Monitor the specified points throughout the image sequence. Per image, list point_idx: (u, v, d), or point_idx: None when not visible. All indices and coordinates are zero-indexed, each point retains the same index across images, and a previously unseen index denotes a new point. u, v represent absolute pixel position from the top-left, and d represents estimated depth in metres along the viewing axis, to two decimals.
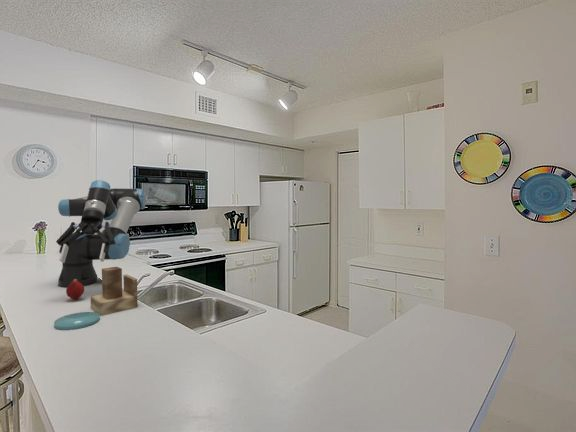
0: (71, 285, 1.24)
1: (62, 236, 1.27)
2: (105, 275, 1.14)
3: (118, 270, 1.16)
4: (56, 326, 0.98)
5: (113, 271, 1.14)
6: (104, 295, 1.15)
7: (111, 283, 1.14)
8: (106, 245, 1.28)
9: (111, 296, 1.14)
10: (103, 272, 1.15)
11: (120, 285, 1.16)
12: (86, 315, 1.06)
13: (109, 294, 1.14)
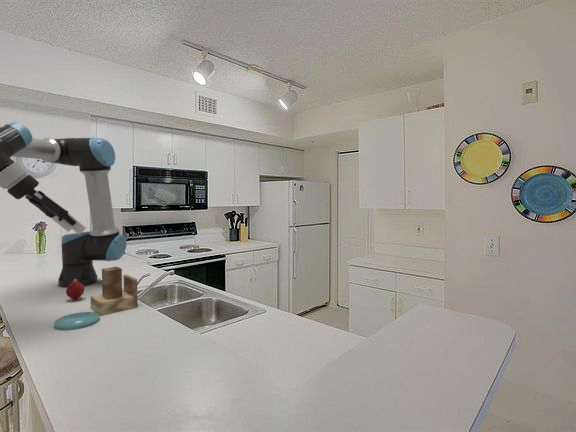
0: (71, 285, 1.24)
1: (42, 211, 1.08)
2: (105, 275, 1.14)
3: (118, 270, 1.16)
4: (56, 326, 0.98)
5: (113, 271, 1.14)
6: (104, 295, 1.15)
7: (111, 283, 1.14)
8: (65, 220, 1.00)
9: (111, 296, 1.14)
10: (103, 272, 1.15)
11: (120, 285, 1.16)
12: (86, 315, 1.06)
13: (109, 294, 1.14)
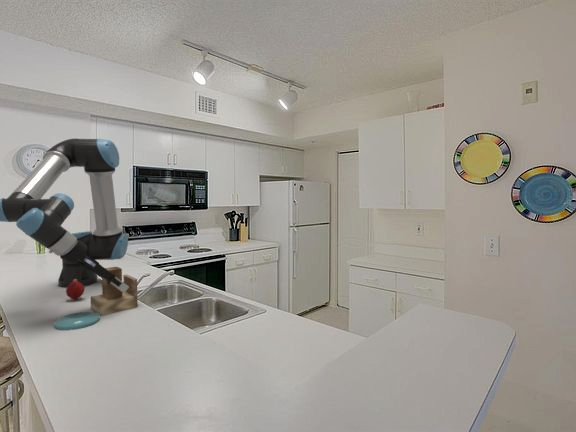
0: (71, 285, 1.24)
1: (93, 272, 1.17)
2: None
3: (118, 270, 1.16)
4: (56, 326, 0.98)
5: (113, 271, 1.14)
6: (104, 295, 1.15)
7: None
8: (112, 282, 1.13)
9: (111, 296, 1.14)
10: None
11: None
12: (86, 315, 1.06)
13: (109, 294, 1.14)
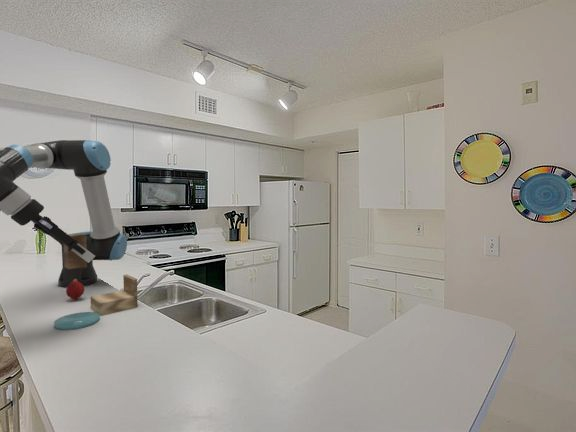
0: (71, 285, 1.24)
1: (54, 238, 1.03)
2: None
3: (82, 236, 1.01)
4: (56, 326, 0.98)
5: (76, 237, 1.00)
6: (65, 265, 1.00)
7: None
8: (74, 249, 0.99)
9: (73, 265, 1.00)
10: None
11: None
12: (86, 315, 1.06)
13: (71, 263, 0.99)
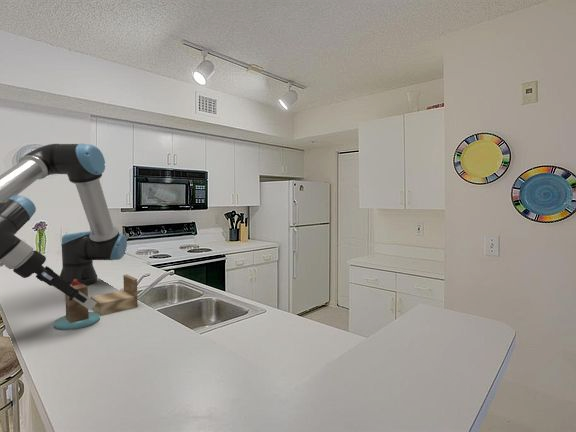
0: None
1: None
2: None
3: (83, 289, 1.02)
4: (56, 326, 0.98)
5: None
6: (67, 317, 1.01)
7: (75, 303, 1.00)
8: (76, 298, 0.98)
9: (75, 318, 1.00)
10: None
11: None
12: None
13: (72, 316, 1.00)
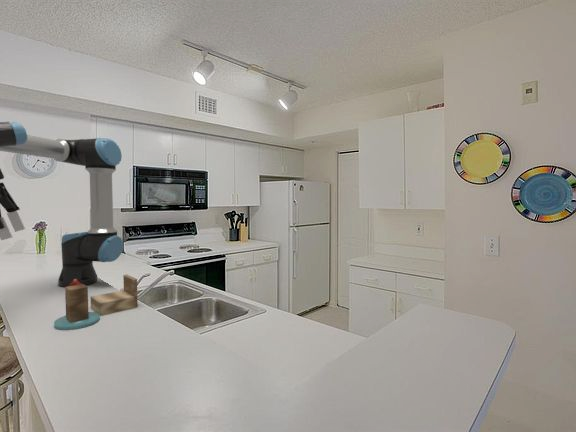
0: (71, 285, 1.24)
1: None
2: (68, 295, 1.00)
3: (83, 289, 1.02)
4: (56, 326, 0.98)
5: (77, 290, 1.01)
6: (67, 317, 1.01)
7: (75, 303, 1.00)
8: None
9: (75, 318, 1.00)
10: (66, 291, 1.01)
11: (86, 306, 1.02)
12: None
13: (72, 316, 1.00)
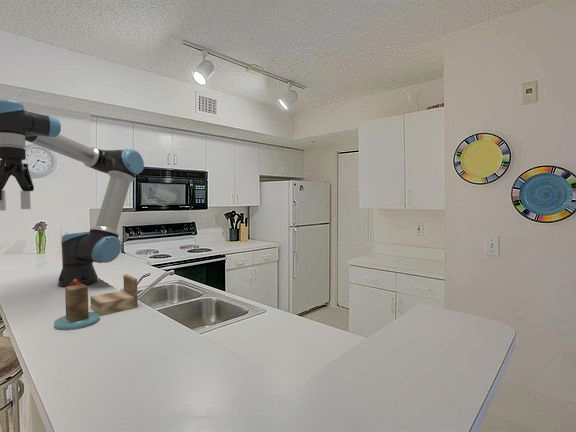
0: (71, 285, 1.24)
1: None
2: (68, 295, 1.00)
3: (83, 289, 1.02)
4: (56, 326, 0.98)
5: (77, 290, 1.01)
6: (67, 317, 1.01)
7: (75, 303, 1.00)
8: None
9: (75, 318, 1.00)
10: (66, 291, 1.01)
11: (86, 306, 1.02)
12: None
13: (72, 316, 1.00)
